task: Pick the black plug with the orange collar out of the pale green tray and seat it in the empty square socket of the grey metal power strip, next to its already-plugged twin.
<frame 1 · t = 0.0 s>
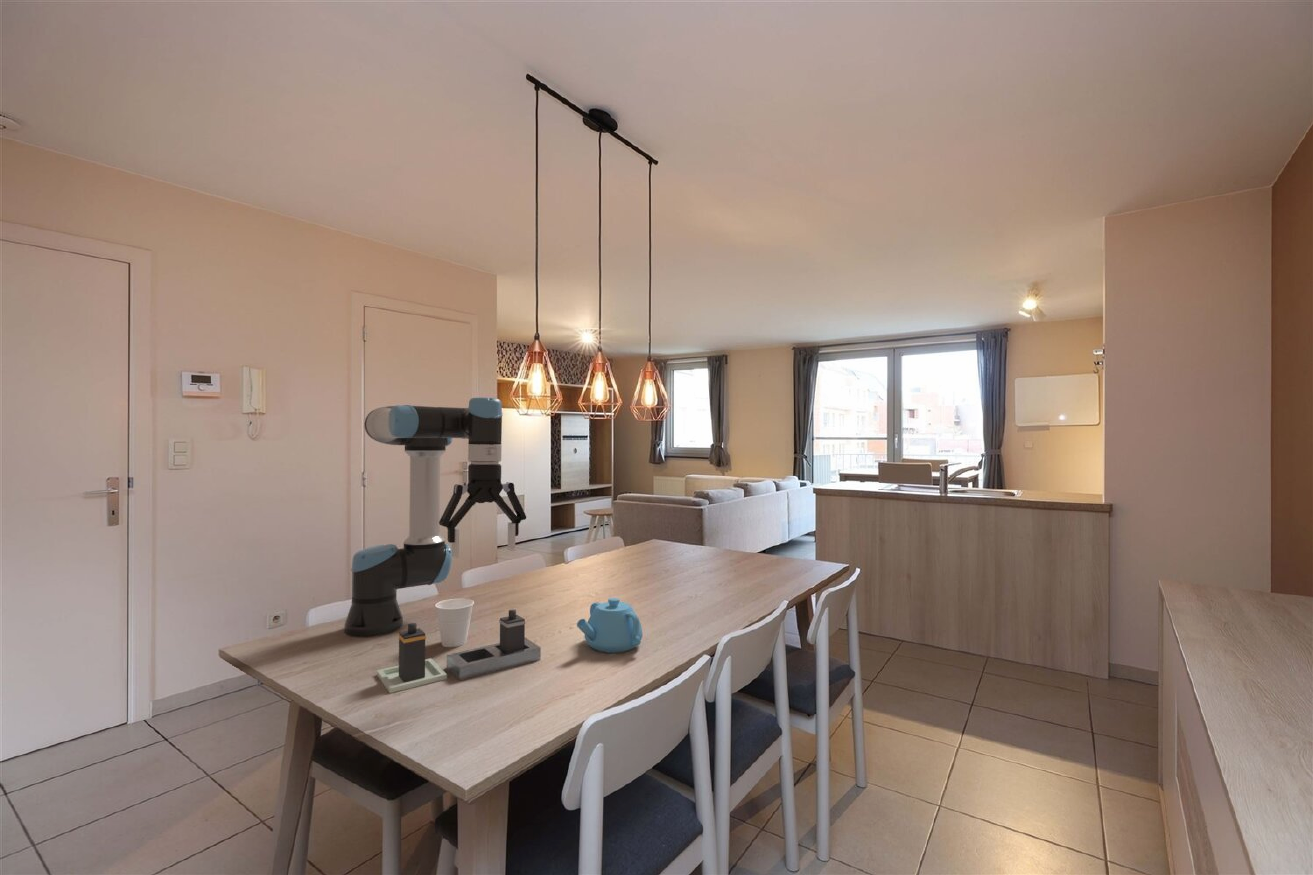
hand: (484, 553, 133), 28 cm above the table, fingers open, 13 cm apart
tray: (411, 678, 129), on the table
plug: (411, 676, 129), resting on tray
cup: (454, 645, 150), on the table
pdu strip: (494, 665, 137), on the table
teapot: (607, 649, 148), on the table
twin plug: (511, 659, 139), resting on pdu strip
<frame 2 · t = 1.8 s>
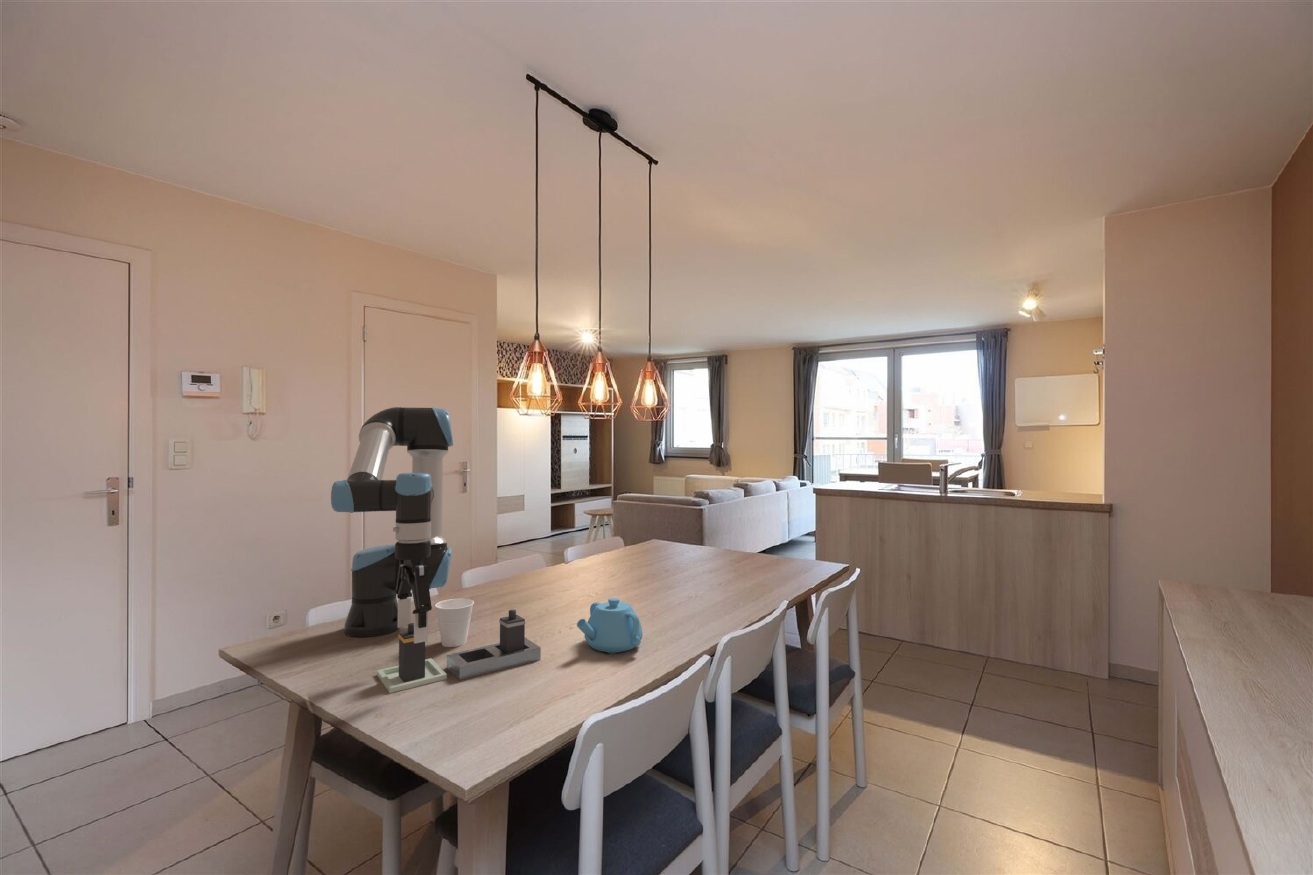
hand: (412, 633, 128), 10 cm above the table, fingers open, 13 cm apart
nothing on the table moved.
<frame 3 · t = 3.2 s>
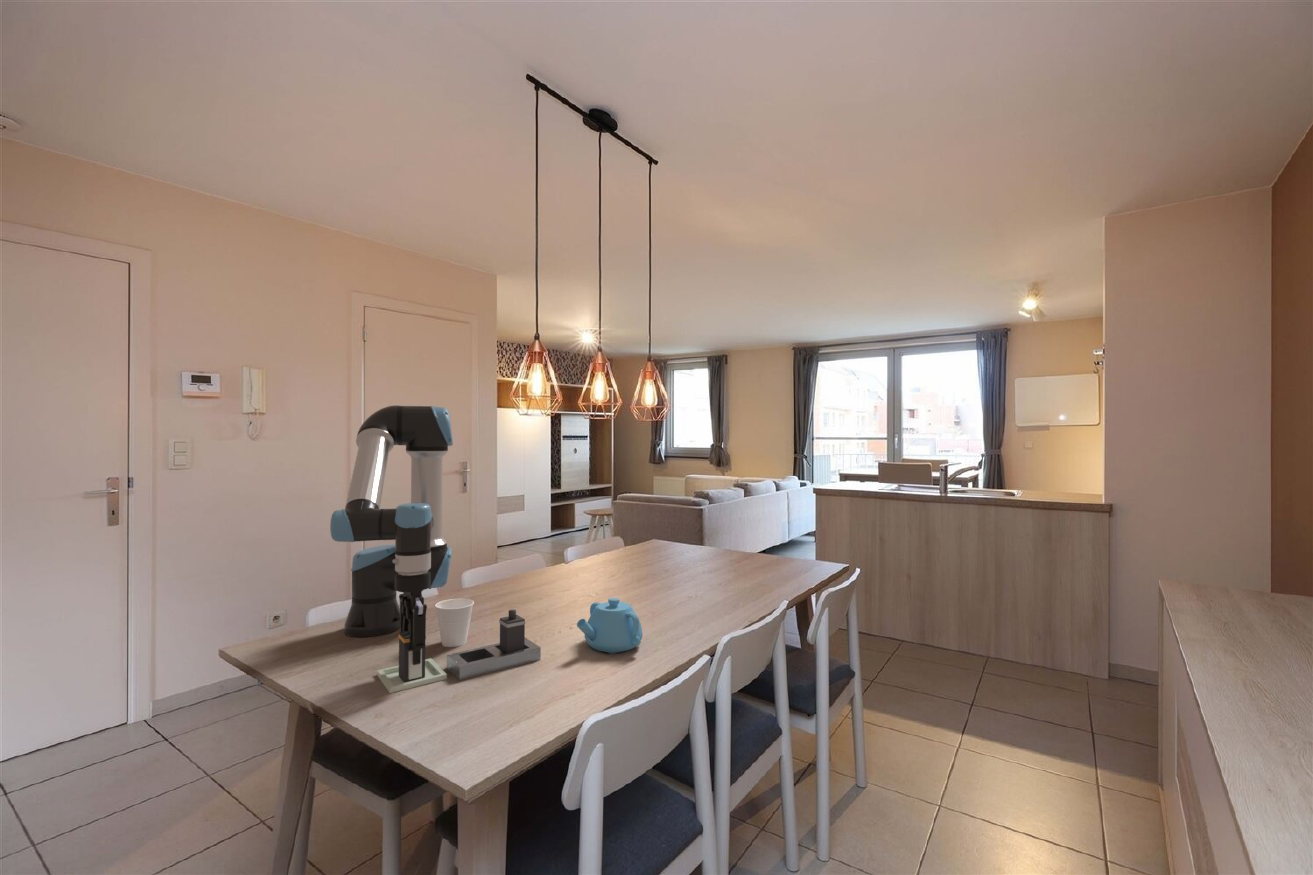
hand: (411, 673, 129), 1 cm above the table, fingers closed on plug, 4 cm apart
plug: (411, 676, 129), resting on tray, touching gripper
everything else where it was.
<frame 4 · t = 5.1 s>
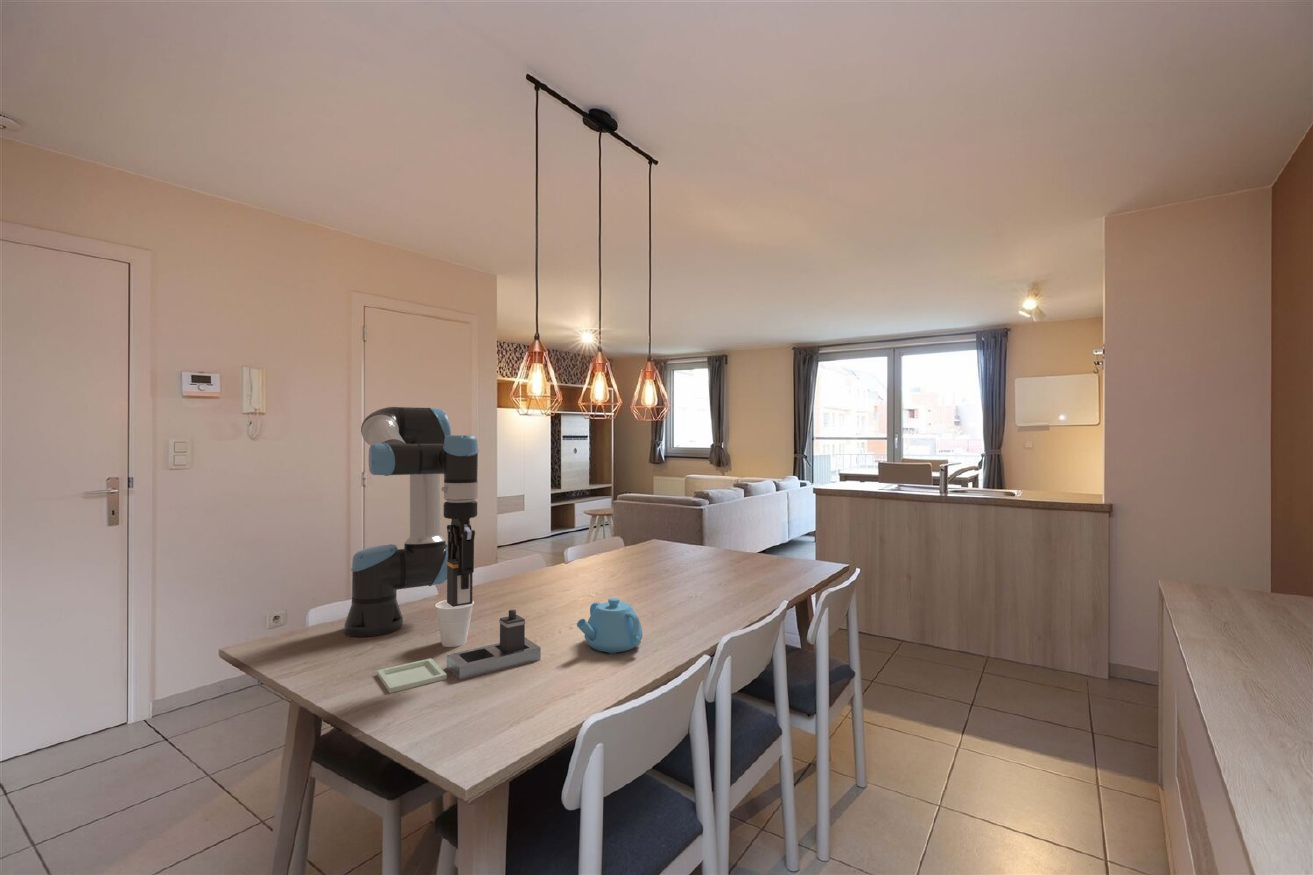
hand: (459, 599, 132), 17 cm above the table, fingers closed on plug, 4 cm apart
plug: (459, 602, 132), point 16 cm above the table, touching gripper
everything else where it was.
when the fingers open (4 cm above the table, at t = 7.0 s): plug drops 3 cm, resting on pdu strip.
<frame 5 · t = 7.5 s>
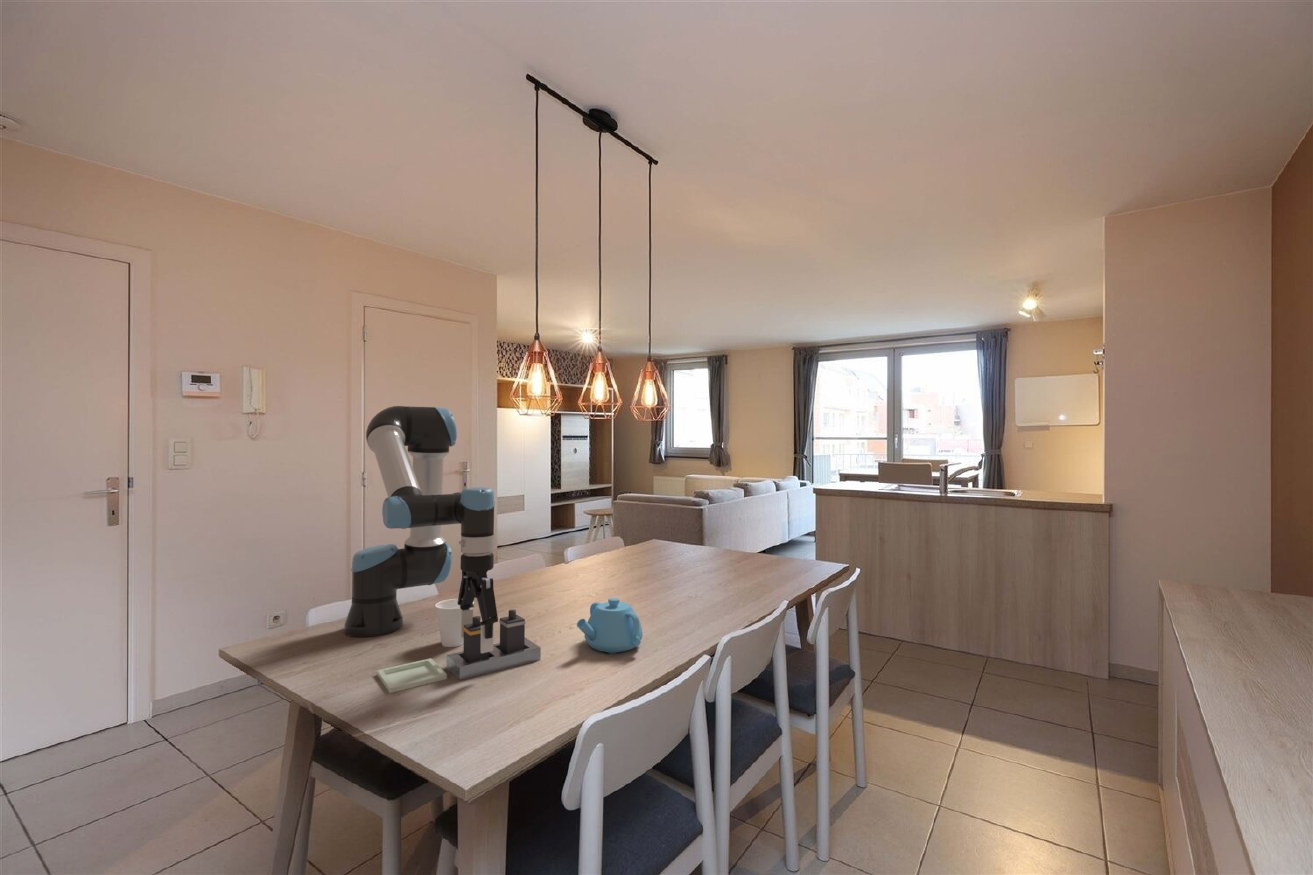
hand: (476, 643, 134), 6 cm above the table, fingers open, 12 cm apart
plug: (476, 667, 134), resting on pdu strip
everything else where it was.
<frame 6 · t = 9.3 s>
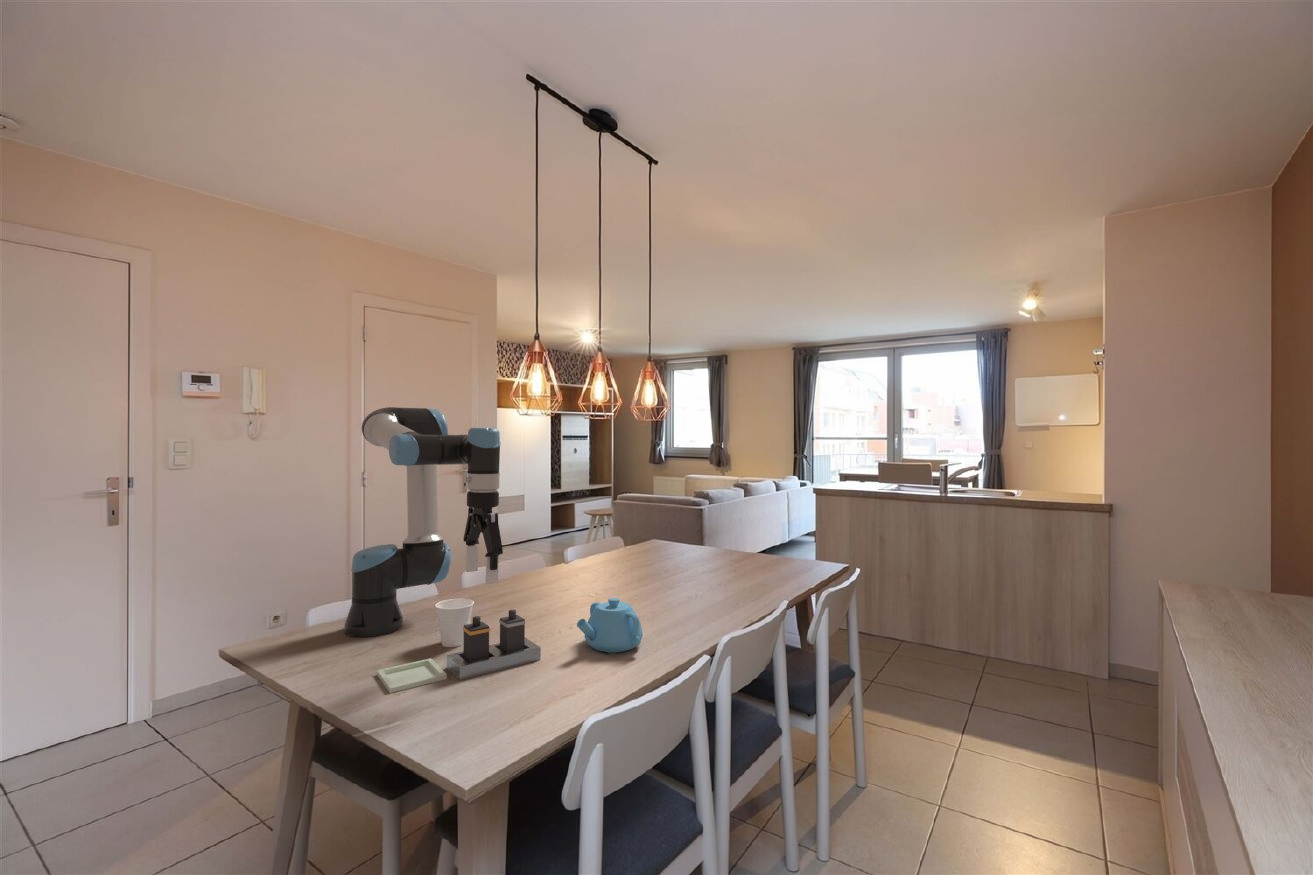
hand: (481, 577, 138), 21 cm above the table, fingers open, 13 cm apart
nothing on the table moved.
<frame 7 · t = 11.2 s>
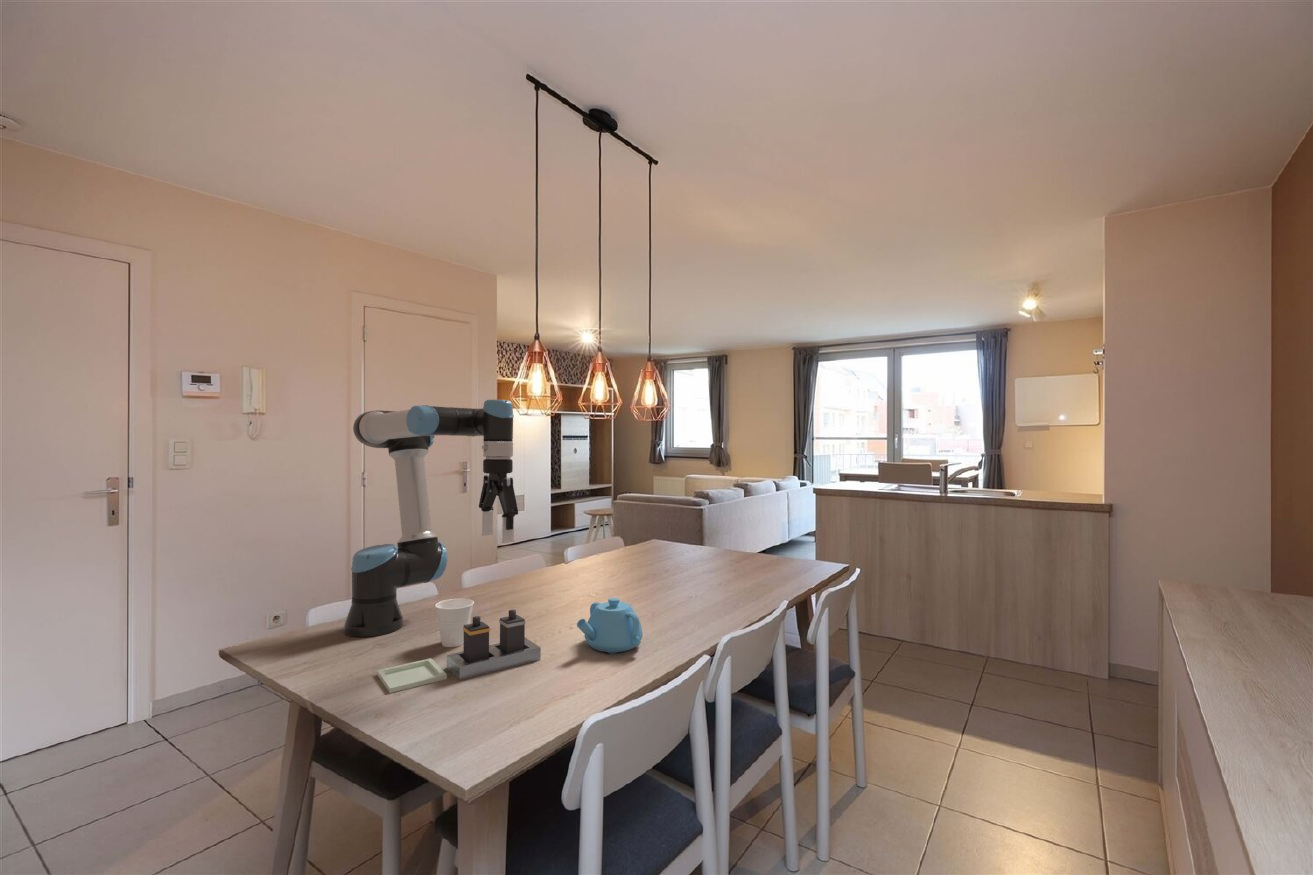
hand: (497, 538, 149), 29 cm above the table, fingers open, 13 cm apart
nothing on the table moved.
at the end: plug 0.0 cm from the target spot on the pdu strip, point 0.5 cm above the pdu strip's base; plug tilted 0°; the gripper is holding nothing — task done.
